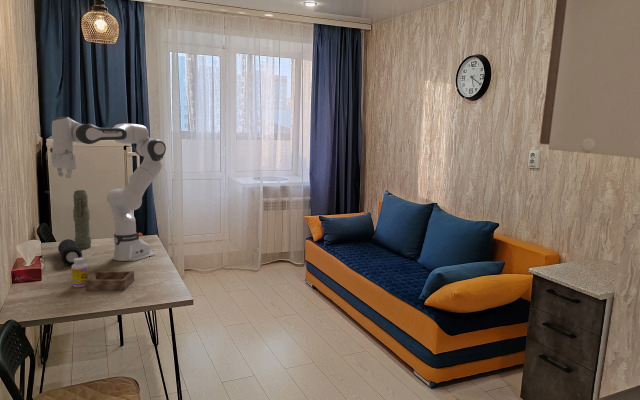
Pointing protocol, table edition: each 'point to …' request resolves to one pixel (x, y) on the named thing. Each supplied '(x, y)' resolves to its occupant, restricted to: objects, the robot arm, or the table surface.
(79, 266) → the supplement bottle
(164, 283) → the table surface
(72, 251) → the portable speaker
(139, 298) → the table surface
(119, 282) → the wooden tray
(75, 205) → the thermos
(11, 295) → the table surface
